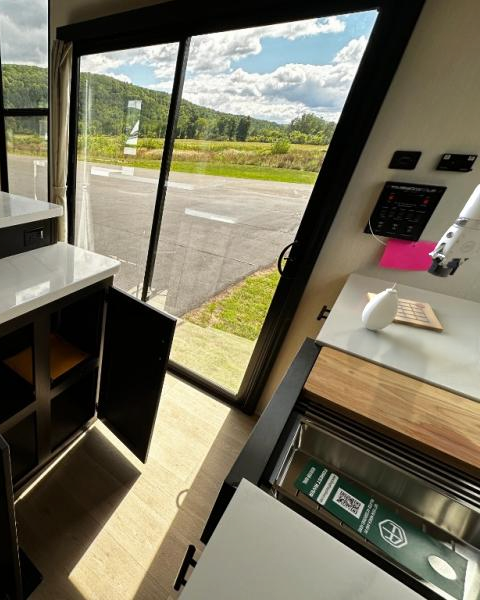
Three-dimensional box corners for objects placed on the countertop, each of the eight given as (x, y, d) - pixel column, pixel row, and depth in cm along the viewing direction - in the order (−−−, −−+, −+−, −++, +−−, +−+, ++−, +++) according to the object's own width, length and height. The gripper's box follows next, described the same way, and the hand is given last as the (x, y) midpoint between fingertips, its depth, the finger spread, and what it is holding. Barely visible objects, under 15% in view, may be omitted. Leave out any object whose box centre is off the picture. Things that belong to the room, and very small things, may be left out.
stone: (445, 273, 112) (451, 264, 110) (449, 278, 108) (455, 269, 107) (428, 270, 114) (434, 262, 112) (432, 275, 110) (437, 267, 109)
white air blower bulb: (357, 331, 108) (382, 285, 98) (354, 319, 114) (378, 275, 104) (387, 338, 105) (416, 291, 95) (382, 325, 110) (409, 280, 101)
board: (426, 306, 119) (428, 303, 118) (441, 332, 106) (443, 329, 106) (366, 295, 127) (368, 292, 127) (373, 317, 114) (375, 314, 114)
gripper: (457, 227, 98) (424, 279, 108) (513, 226, 98) (475, 278, 107) (434, 219, 105) (405, 269, 114) (487, 218, 104) (454, 268, 114)
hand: (440, 273), depth 111 cm, fingers closed on stone, 4 cm apart
